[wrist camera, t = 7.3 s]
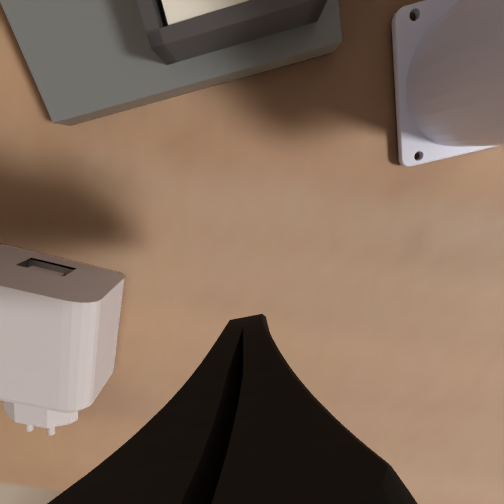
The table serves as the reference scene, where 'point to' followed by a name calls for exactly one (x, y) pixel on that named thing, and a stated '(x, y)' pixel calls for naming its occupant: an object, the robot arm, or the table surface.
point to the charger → (55, 335)
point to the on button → (194, 8)
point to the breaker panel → (158, 48)
